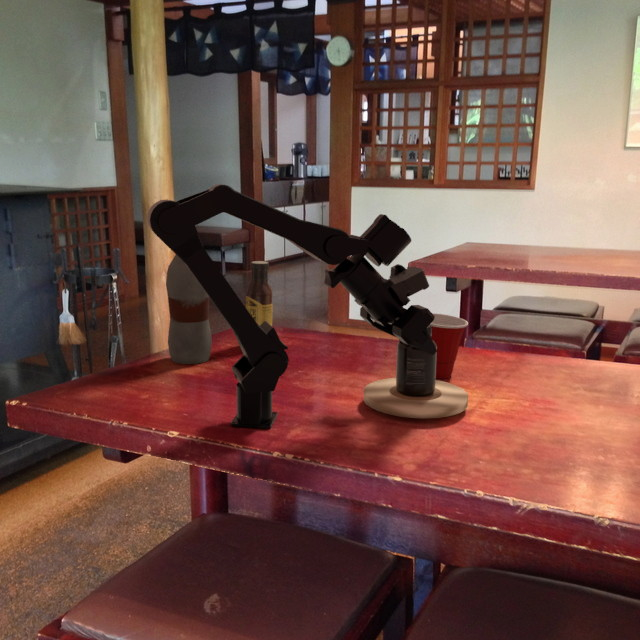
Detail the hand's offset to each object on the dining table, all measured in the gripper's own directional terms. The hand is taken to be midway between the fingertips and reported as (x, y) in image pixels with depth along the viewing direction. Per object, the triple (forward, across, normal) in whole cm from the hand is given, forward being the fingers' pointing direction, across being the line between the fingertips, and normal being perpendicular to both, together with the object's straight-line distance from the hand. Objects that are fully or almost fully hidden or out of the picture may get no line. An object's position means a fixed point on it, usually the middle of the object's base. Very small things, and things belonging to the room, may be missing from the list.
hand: (424, 347), depth 115 cm
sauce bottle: (-5, +50, +20) cm, 54 cm away
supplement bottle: (+5, 0, +7) cm, 8 cm away
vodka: (-17, +41, +32) cm, 55 cm away
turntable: (+6, 0, +8) cm, 11 cm away
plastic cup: (+16, +16, -1) cm, 23 cm away
